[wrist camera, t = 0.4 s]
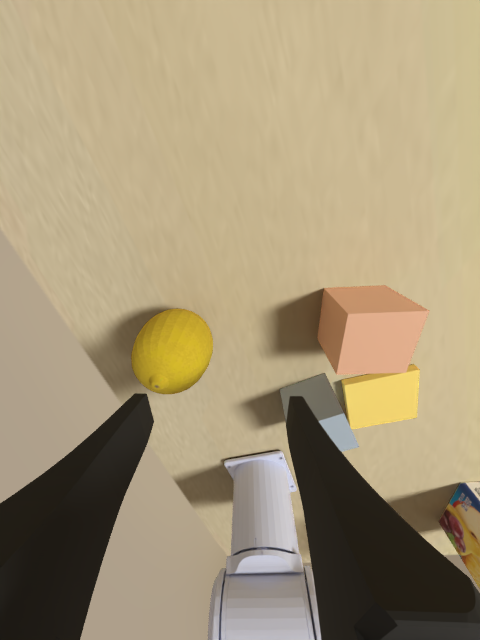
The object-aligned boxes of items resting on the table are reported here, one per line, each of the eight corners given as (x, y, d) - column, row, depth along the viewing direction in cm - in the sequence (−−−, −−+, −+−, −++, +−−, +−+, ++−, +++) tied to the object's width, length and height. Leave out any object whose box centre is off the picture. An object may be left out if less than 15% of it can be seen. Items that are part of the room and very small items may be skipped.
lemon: (146, 326, 20) (94, 391, 13) (177, 281, 18) (135, 329, 11) (196, 357, 22) (173, 430, 15) (230, 318, 20) (222, 381, 13)
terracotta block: (371, 336, 21) (406, 372, 16) (317, 338, 21) (336, 374, 16) (384, 285, 18) (429, 310, 14) (323, 287, 18) (348, 314, 14)
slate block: (338, 403, 25) (359, 446, 20) (296, 417, 26) (307, 460, 21) (324, 372, 23) (343, 413, 18) (279, 388, 24) (287, 430, 19)
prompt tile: (411, 411, 25) (416, 417, 24) (347, 423, 26) (350, 429, 25) (414, 364, 22) (419, 369, 21) (341, 380, 23) (344, 385, 22)
